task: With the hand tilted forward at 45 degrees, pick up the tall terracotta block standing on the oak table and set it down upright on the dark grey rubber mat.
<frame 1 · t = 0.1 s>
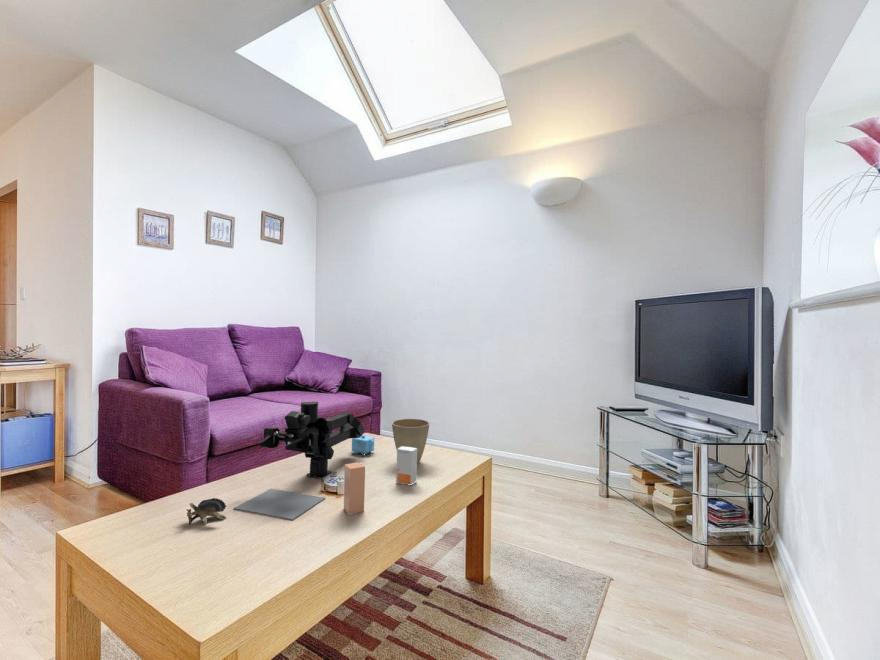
hand: (272, 446, 131), 17 cm above the table, tool horizontal, fingers open, 9 cm apart
plant pot: (409, 463, 171), on the table
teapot: (361, 453, 183), on the table
mat: (281, 503, 129), on the table
skincare box: (406, 483, 149), on the table
grey brown animal figure: (206, 522, 116), on the table
block: (353, 510, 126), on the table
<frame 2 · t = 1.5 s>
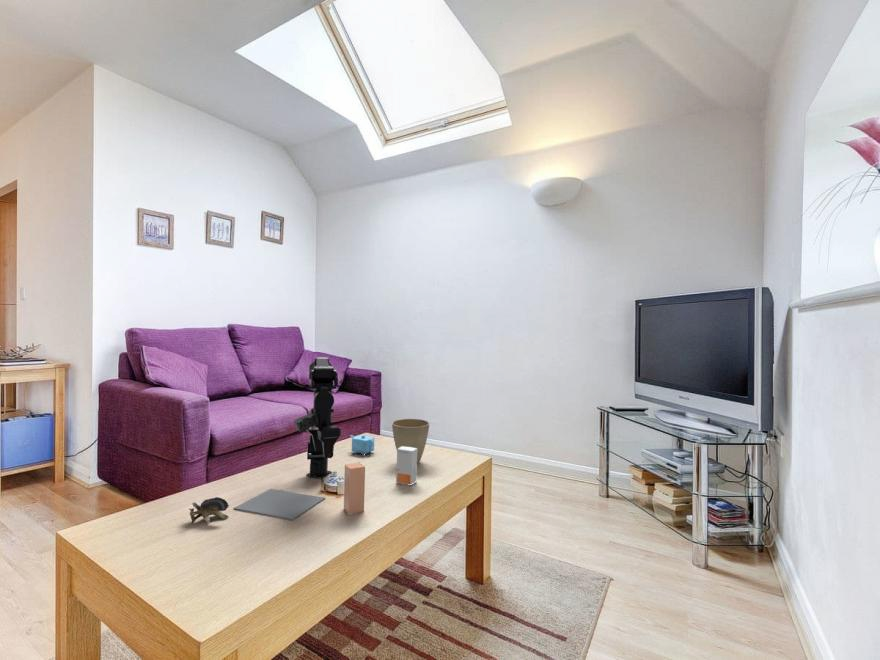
hand: (321, 454, 138), 12 cm above the table, tool pointing down, fingers open, 9 cm apart
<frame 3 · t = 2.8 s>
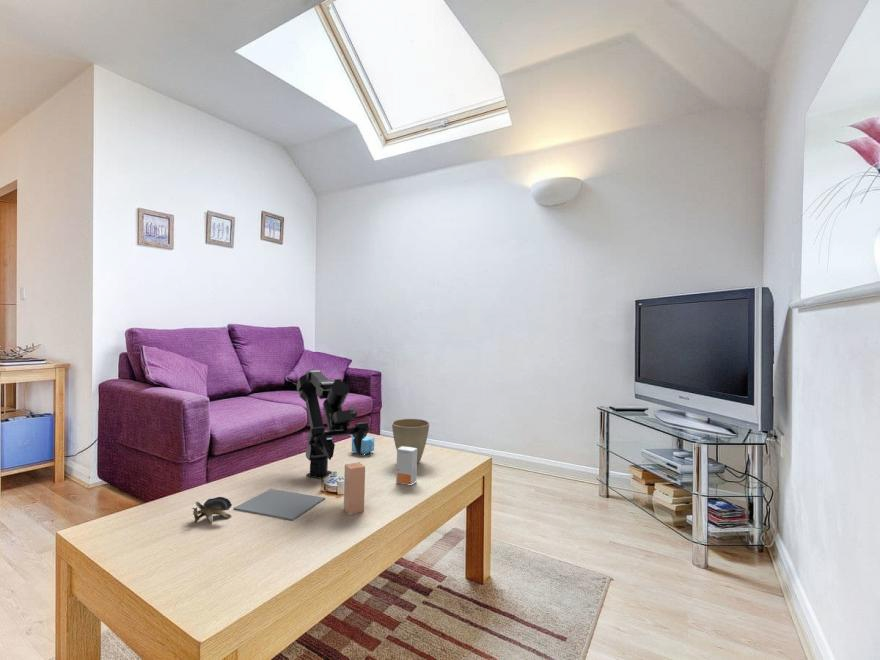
hand: (345, 457, 132), 13 cm above the table, tool tilted 45°, fingers open, 9 cm apart
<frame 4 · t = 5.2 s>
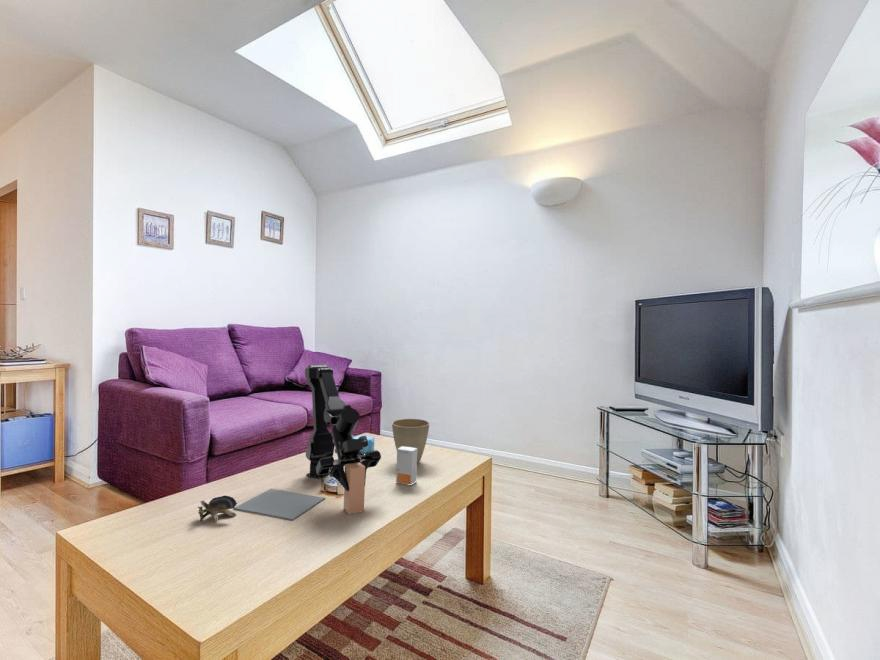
hand: (356, 488, 125), 7 cm above the table, tool tilted 45°, fingers closed on block, 4 cm apart
grey brown animal figure: (217, 519, 118), on the table
block: (353, 510, 126), on the table, touching gripper
everything else where it was.
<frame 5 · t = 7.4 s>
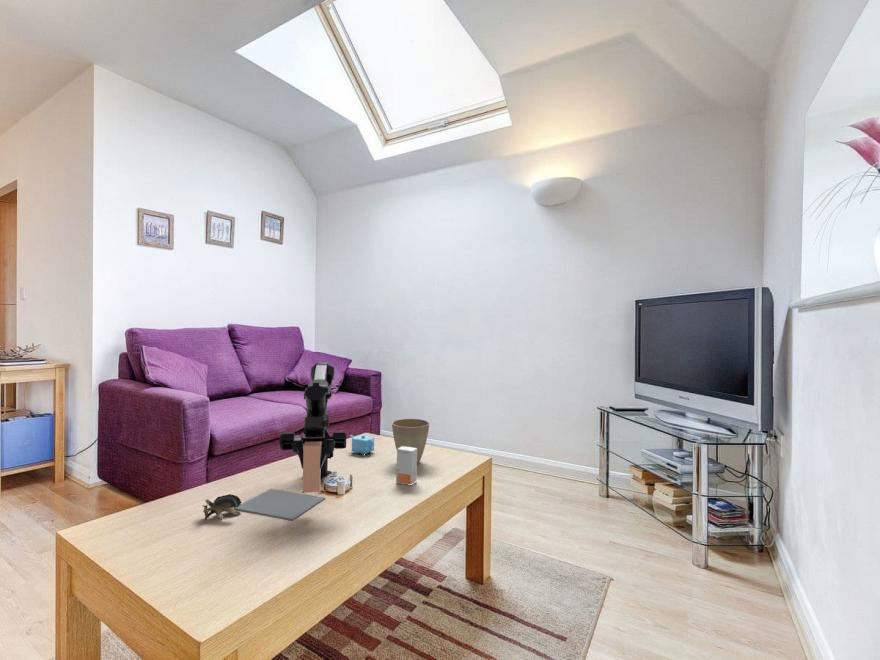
hand: (311, 467, 122), 13 cm above the table, tool tilted 45°, fingers closed on block, 4 cm apart
grey brown animal figure: (221, 518, 119), on the table
block: (311, 489, 123), point 7 cm above the table, touching gripper
everything else where it was.
when the fingers open (8 cm above the table, at t = 9.5 s): block stays where it is, resting on mat.
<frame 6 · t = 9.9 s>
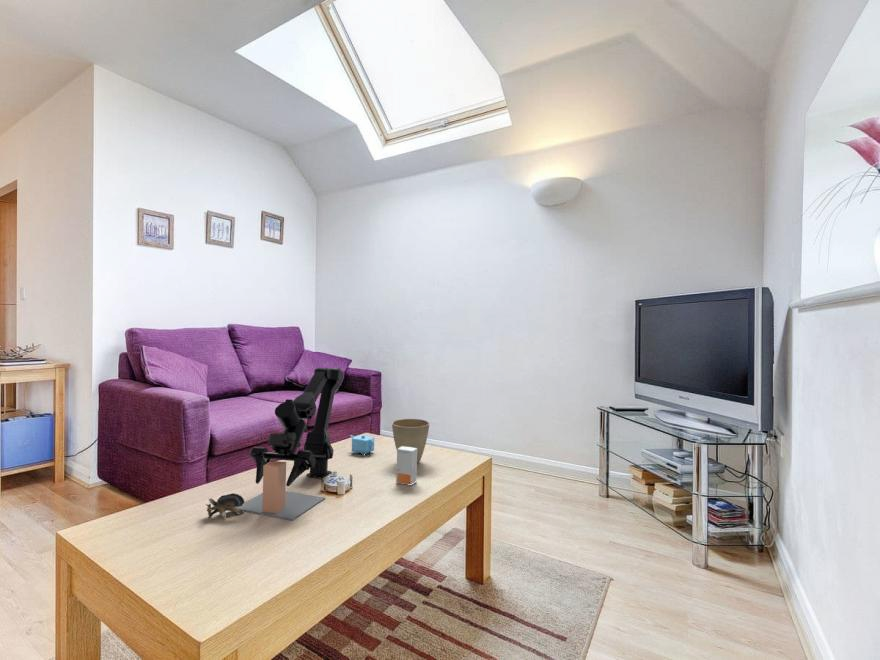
hand: (271, 484, 123), 8 cm above the table, tool tilted 45°, fingers open, 9 cm apart
block: (273, 509, 124), resting on mat
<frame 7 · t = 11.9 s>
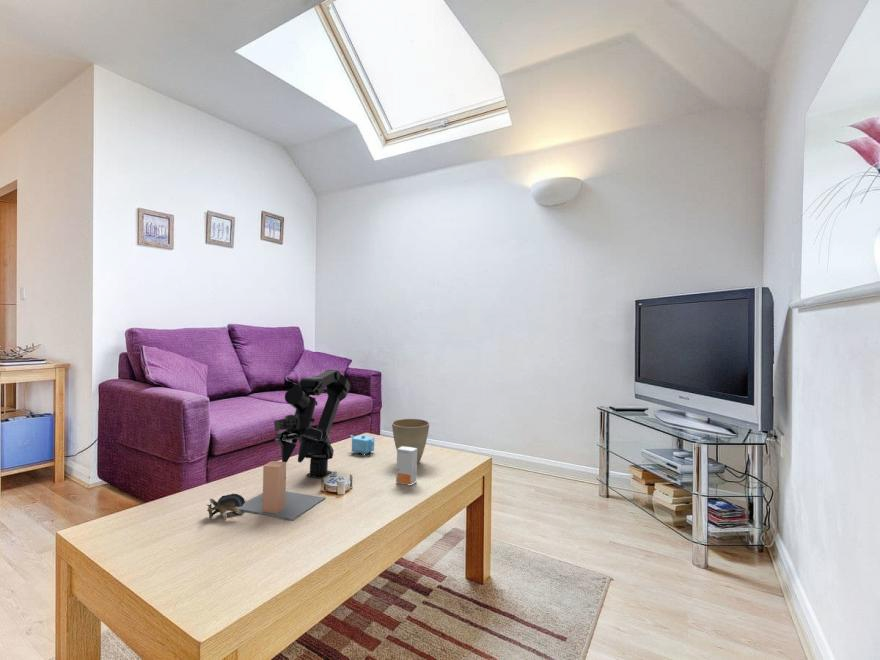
hand: (291, 463, 135), 10 cm above the table, tool tilted 30°, fingers open, 9 cm apart
nothing on the table moved.
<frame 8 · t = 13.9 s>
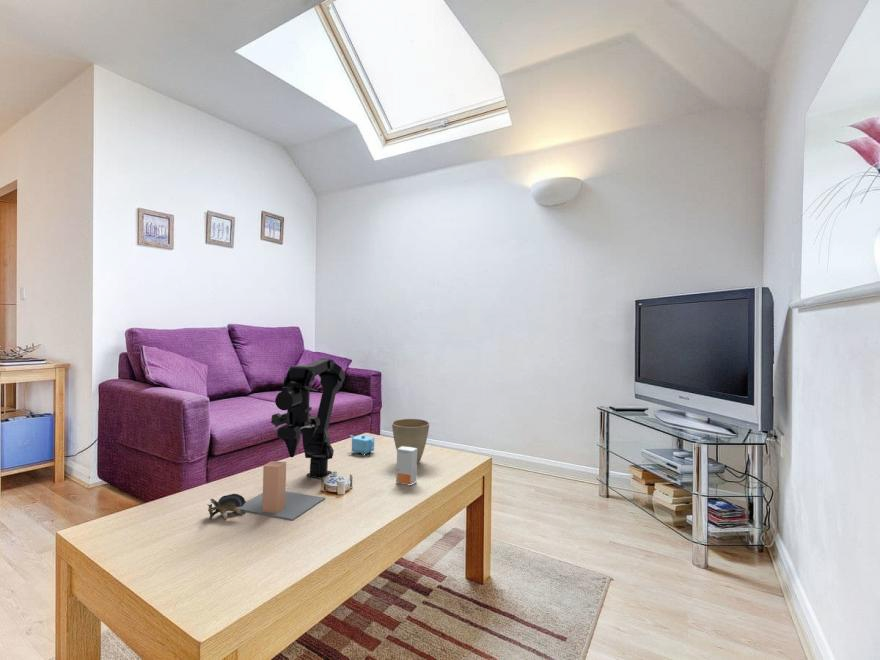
hand: (298, 453, 140), 12 cm above the table, tool pointing down, fingers open, 9 cm apart
grey brown animal figure: (226, 517, 120), on the table, touching mat
everything else where it was.
at the end: block inside the target area on the mat (4.6 cm from its centre), point 0.4 cm above the mat's base; block tilted 0°; the gripper is holding nothing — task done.
